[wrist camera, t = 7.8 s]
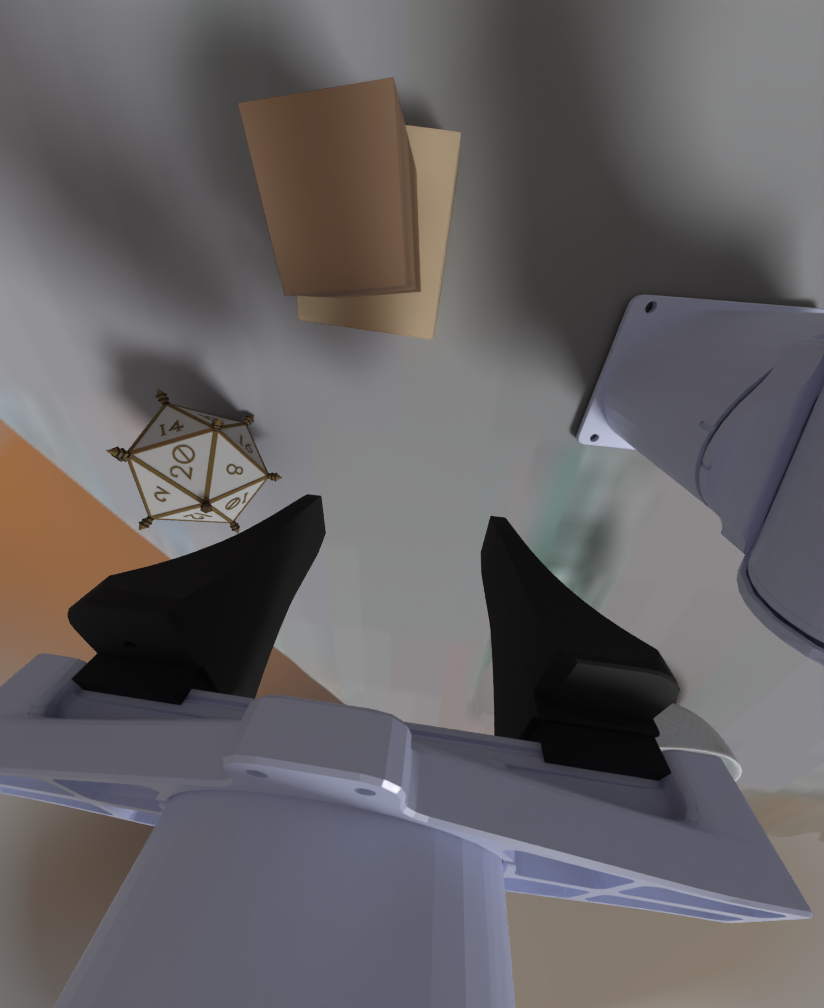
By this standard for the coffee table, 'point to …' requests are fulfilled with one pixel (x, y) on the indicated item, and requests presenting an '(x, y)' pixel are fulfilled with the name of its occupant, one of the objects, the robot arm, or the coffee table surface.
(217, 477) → the game die
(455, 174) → the oak base block
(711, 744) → the cereal bowl
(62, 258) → the coffee table surface
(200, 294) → the coffee table surface
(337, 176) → the walnut block
